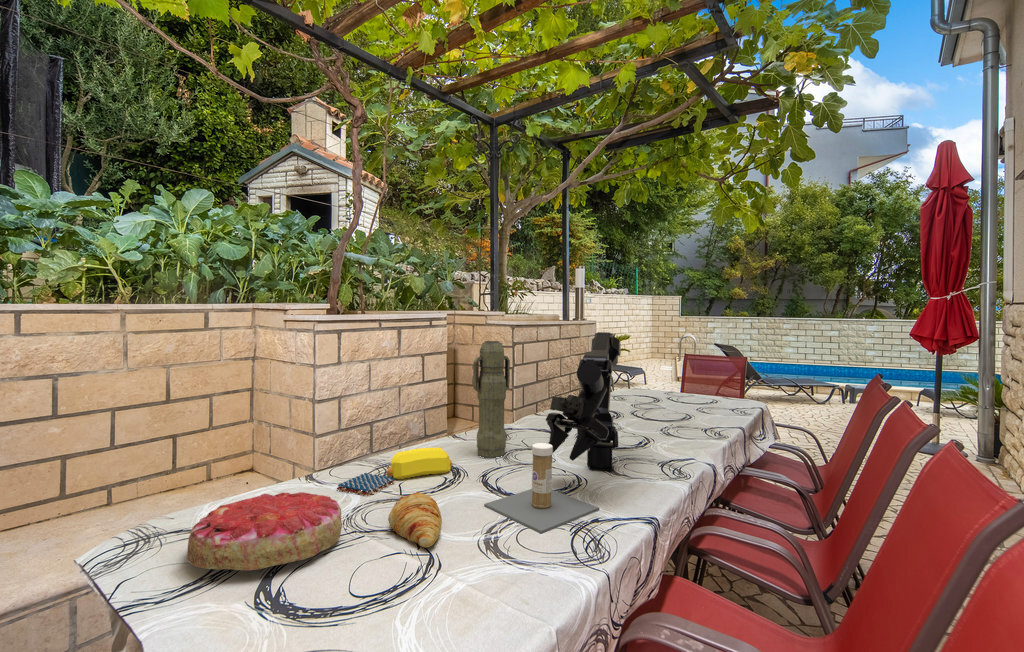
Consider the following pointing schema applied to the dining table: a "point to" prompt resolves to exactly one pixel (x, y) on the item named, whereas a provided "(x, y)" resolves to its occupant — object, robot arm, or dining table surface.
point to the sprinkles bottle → (542, 475)
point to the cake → (265, 531)
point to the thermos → (491, 398)
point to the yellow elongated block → (419, 463)
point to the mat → (541, 510)
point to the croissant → (416, 519)
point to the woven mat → (365, 484)
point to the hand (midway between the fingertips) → (559, 456)
